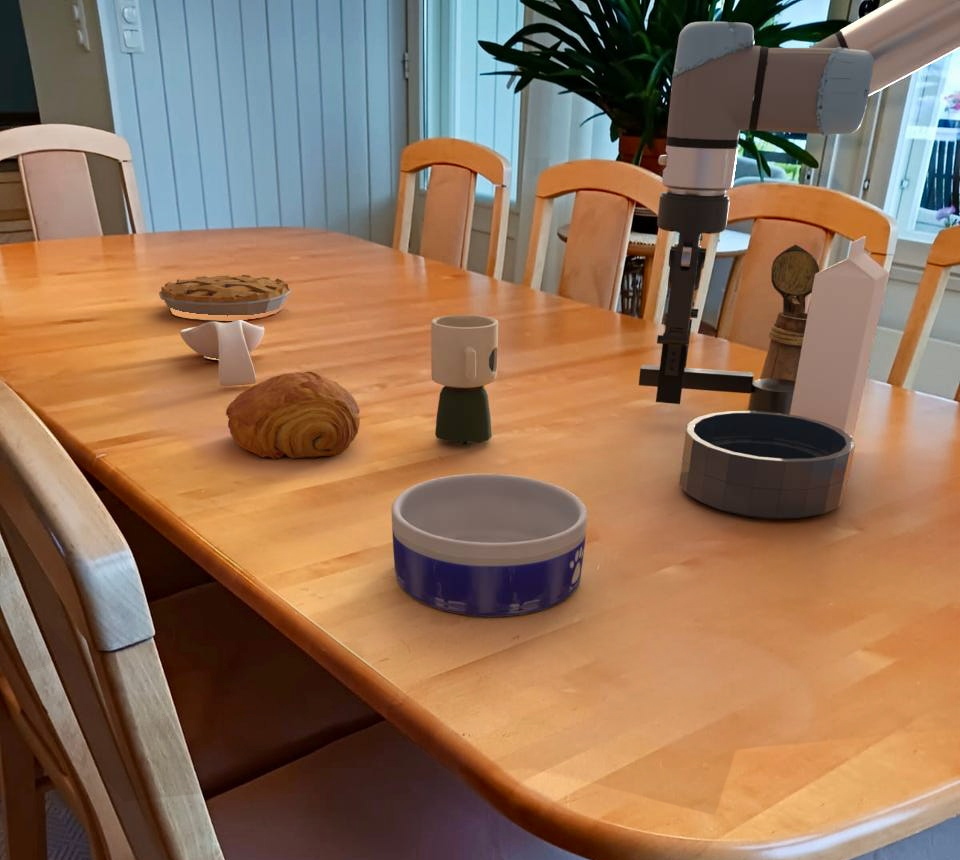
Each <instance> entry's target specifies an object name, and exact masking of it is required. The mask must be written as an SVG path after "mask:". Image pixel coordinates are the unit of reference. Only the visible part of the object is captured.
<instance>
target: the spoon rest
mask: <svg viewBox="0 0 960 860" xmlns="http://www.w3.org/2000/svg"><path fill="white" fill-rule="evenodd" d="M179 335H180V337H181V338H182V340H183V341H184V343H185V344H186V345H187V346H188V347H189V348H190V349H192V351H195V352H196V353H197V354H199V355H200V356H202V355H203V356H206V357H210V358H216V359H219V361H218V384H219V386H221V387H233V386H248V385H256V384H257V375H256V372H255V367H254V363H253V361H252V358H251V355H250V353H251V352H253V351H254V350H256V348H258V346H259V345H260V343H261V342H262V341H263V337H264V335H265V327H264V325H258V324H254V323H249V322H248V321H243V320H236V321H232V322H218V321H207V322H205V323H202V324H200V325H198V326H193V327H188V328H184V329H181V330H180V331H179ZM203 356H202V357H203Z"/></svg>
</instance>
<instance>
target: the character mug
mask: <svg viewBox="0 0 960 860" xmlns="http://www.w3.org/2000/svg"><path fill="white" fill-rule="evenodd" d="M430 332H431V333H430V351H431V352H430V355H431V357H430V360H431V361H430V363H431V366H430V368H431V369H430V371H431V373H430V375H431V380H432V381H433V382H434V383H436V384H438V385H441V386H443V387H442V388H441V390H440V392H439V396H438V405H437V411H436V419H435V420H436V421H435V430H434V431H435V433H434V435H435V438H436V439H439V440H441V441H447V442H457V443H458V442H459V443H462V445H464V446H467V445H468V443H476V444H478V443H479V444H480V443H484V442H488V441H489V440H490V439H491V438H492V435H493V434H492V421H491V420H492V419H491V411H490V410H491V409H490V403H489V395H488V393H487V391H486V386H488V385H489V384H492V383H495V381H496V380H497V376H498V355H499V354H498V351H499V350H498V349H499V347H498V345H499V320H498V319H495V318H493V317H488V316H484V315H477V314H476V315H475V314H448V315H442V316H441V315H440V316H437V317H435V318H432V320H431V323H430Z"/></svg>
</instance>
